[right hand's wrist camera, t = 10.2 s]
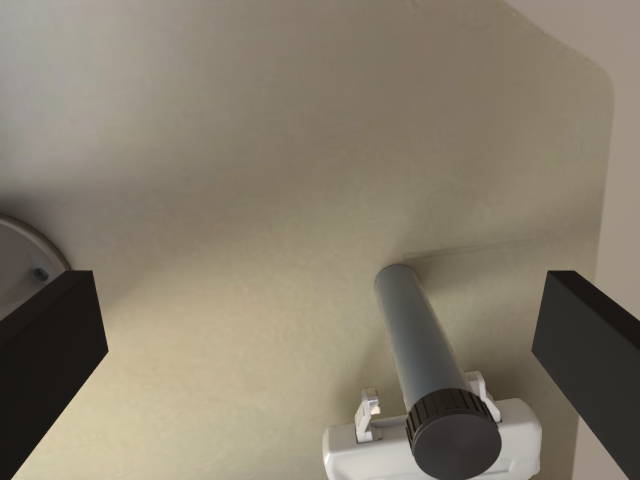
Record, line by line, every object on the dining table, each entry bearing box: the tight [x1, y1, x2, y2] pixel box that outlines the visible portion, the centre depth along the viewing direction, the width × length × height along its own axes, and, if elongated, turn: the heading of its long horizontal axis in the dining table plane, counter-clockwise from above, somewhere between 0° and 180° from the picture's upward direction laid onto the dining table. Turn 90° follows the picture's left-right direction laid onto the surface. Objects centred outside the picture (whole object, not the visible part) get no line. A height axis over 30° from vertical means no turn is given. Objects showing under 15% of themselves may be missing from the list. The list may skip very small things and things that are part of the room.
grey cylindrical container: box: [374, 265, 475, 414], centre depth 34 cm, size 4×4×20 cm
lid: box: [405, 388, 502, 480], centre depth 25 cm, size 5×5×2 cm
